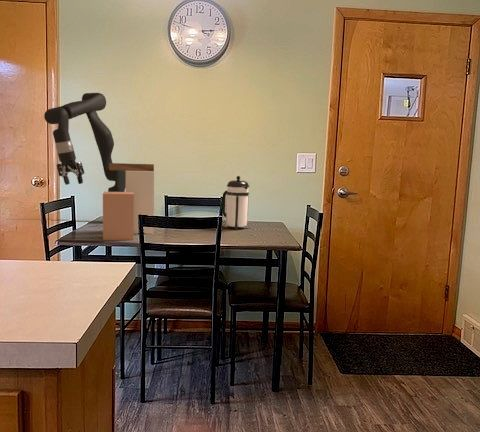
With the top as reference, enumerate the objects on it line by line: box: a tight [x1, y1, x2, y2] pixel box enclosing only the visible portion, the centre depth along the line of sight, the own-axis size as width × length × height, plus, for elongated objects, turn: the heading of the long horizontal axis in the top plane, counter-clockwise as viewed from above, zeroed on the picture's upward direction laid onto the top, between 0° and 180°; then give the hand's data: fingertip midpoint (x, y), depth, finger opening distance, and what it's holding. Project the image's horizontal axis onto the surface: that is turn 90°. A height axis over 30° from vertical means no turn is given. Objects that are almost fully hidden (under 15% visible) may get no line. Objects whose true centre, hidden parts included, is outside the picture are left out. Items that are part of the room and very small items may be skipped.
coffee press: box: [221, 175, 250, 231], centre depth 255 cm, size 17×16×30 cm
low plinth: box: [102, 191, 135, 241], centre depth 215 cm, size 10×14×22 cm
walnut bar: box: [109, 162, 155, 172], centre depth 227 cm, size 4×22×4 cm, turn 103°
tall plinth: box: [125, 170, 155, 235], centre depth 231 cm, size 10×14×32 cm
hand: (74, 183), depth 216 cm, fingers open, 8 cm apart
